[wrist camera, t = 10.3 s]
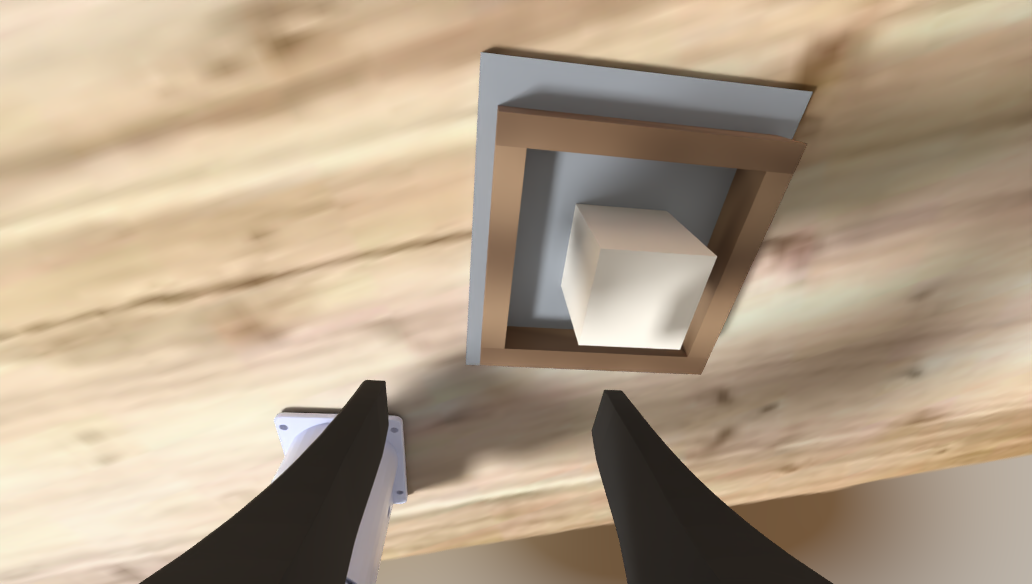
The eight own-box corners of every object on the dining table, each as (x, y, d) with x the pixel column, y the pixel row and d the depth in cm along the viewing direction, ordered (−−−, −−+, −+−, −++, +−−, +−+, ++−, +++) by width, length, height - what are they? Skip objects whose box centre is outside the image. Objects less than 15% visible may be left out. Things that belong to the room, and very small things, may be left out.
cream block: (642, 290, 21) (679, 349, 17) (561, 285, 21) (578, 345, 17) (666, 210, 19) (717, 256, 15) (575, 203, 19) (600, 248, 14)
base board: (684, 367, 25) (688, 374, 25) (466, 357, 24) (465, 364, 23) (803, 90, 17) (812, 92, 17) (481, 52, 16) (480, 52, 15)
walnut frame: (685, 351, 24) (700, 374, 22) (480, 341, 23) (479, 365, 21) (776, 135, 17) (807, 143, 16) (497, 105, 16) (498, 111, 15)
